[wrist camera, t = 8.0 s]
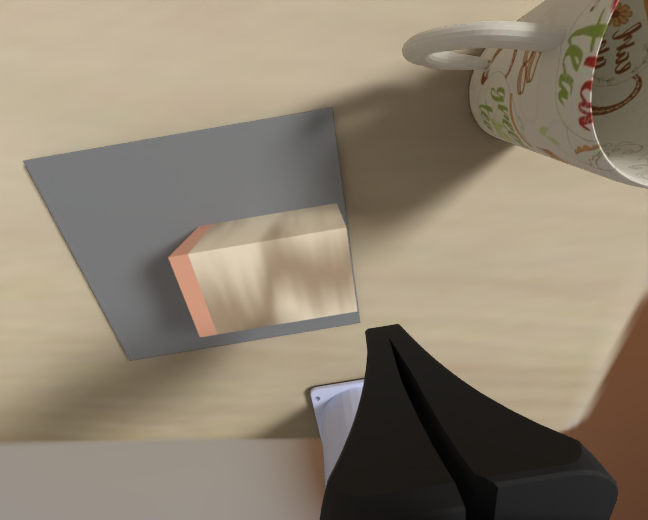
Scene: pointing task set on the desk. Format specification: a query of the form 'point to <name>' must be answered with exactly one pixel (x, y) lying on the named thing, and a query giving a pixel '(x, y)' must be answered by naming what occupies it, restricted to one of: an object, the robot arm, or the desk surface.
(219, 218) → the mat
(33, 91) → the desk surface
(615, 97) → the mug
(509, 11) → the desk surface
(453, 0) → the desk surface
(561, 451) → the robot arm
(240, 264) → the block
